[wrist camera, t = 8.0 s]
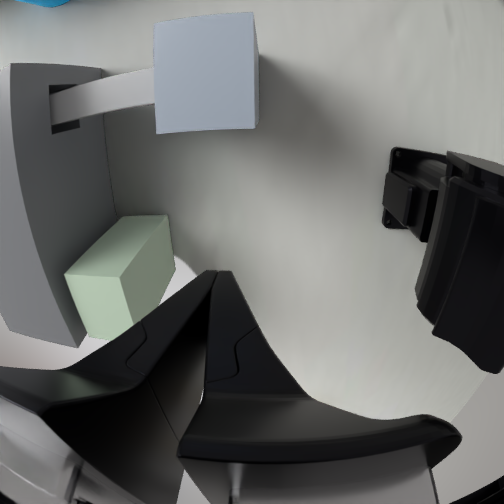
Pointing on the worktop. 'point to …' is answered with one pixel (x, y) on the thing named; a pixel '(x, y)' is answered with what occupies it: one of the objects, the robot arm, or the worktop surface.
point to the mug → (45, 2)
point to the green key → (122, 275)
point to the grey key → (182, 78)
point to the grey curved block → (47, 199)
